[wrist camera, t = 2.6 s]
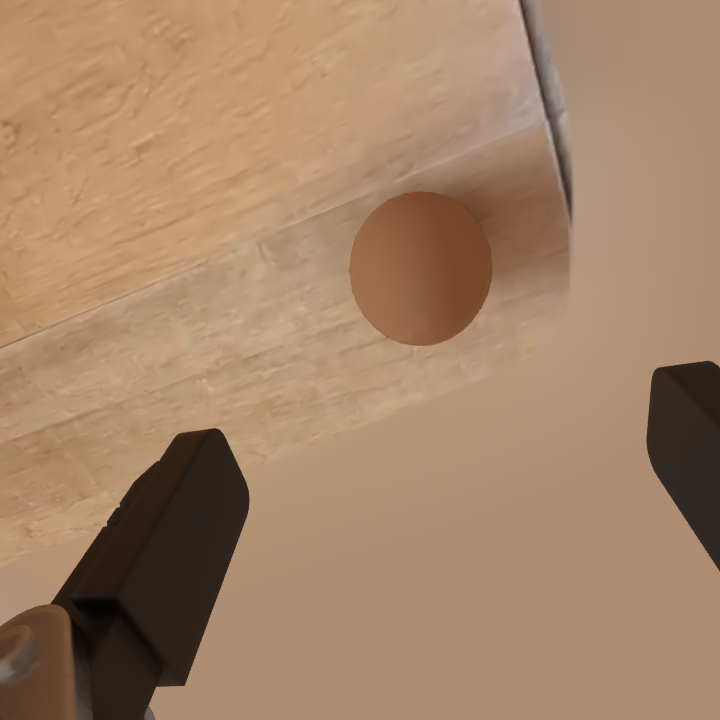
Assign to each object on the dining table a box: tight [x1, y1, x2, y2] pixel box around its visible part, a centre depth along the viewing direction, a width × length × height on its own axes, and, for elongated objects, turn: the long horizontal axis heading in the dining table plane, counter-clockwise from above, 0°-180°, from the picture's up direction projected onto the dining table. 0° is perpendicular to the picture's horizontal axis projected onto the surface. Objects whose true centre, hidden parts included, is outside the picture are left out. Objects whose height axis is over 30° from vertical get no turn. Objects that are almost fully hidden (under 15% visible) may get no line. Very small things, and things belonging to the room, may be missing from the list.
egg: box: [349, 192, 492, 346], centre depth 17 cm, size 5×5×8 cm
